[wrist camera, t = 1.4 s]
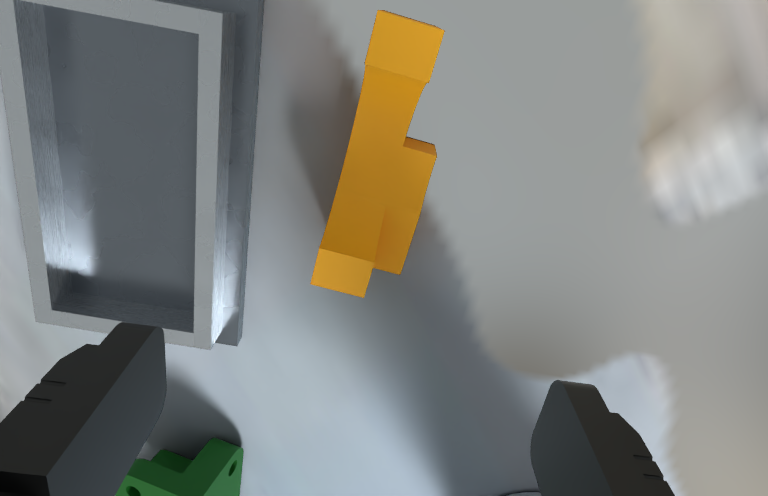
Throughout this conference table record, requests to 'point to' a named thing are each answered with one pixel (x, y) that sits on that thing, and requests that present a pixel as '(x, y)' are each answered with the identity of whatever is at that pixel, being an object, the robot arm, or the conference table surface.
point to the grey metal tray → (134, 159)
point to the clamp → (187, 473)
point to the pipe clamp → (381, 161)
